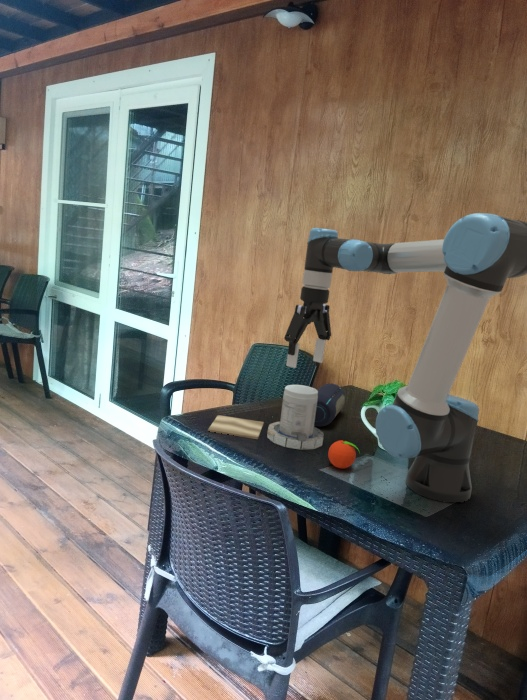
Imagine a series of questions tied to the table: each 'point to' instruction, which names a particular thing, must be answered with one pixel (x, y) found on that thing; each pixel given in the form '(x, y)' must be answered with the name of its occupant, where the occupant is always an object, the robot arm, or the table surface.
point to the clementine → (342, 454)
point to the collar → (297, 442)
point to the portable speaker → (328, 404)
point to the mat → (236, 427)
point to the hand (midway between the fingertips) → (304, 364)
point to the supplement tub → (298, 410)
